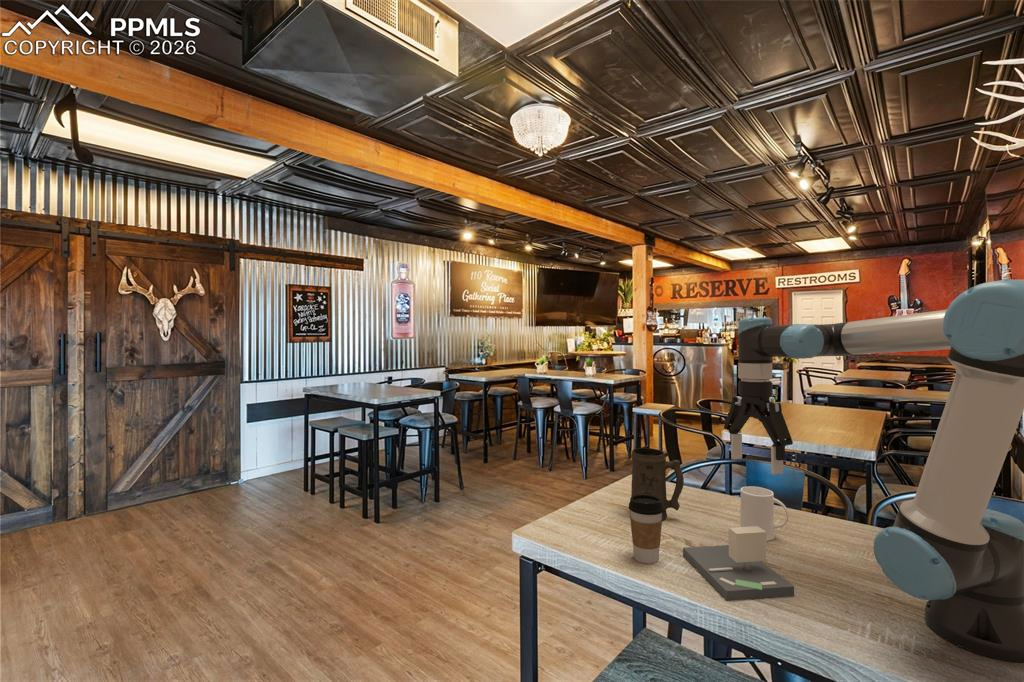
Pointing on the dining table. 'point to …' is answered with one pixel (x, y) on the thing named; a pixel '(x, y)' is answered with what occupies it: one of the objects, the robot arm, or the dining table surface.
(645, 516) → the coffee cup
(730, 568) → the peg
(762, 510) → the mug
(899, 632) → the dining table surface
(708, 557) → the tuner board
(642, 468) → the beer stein
